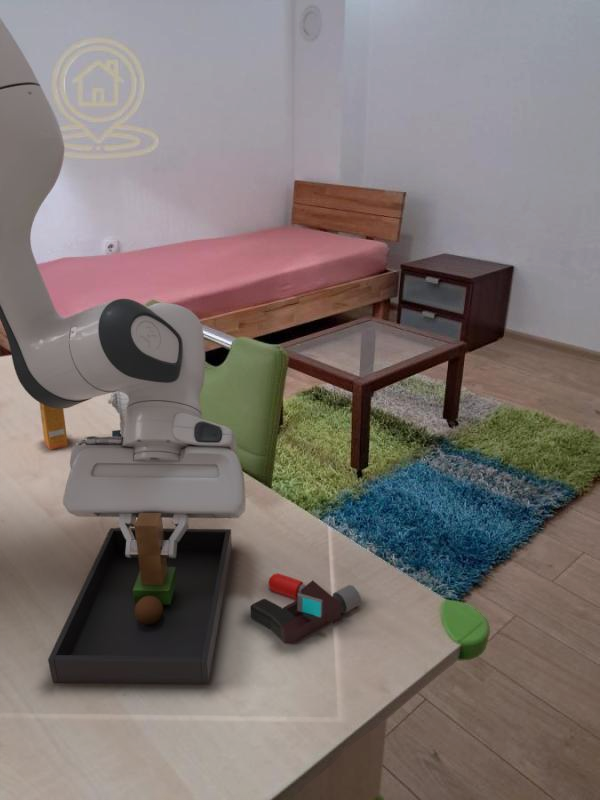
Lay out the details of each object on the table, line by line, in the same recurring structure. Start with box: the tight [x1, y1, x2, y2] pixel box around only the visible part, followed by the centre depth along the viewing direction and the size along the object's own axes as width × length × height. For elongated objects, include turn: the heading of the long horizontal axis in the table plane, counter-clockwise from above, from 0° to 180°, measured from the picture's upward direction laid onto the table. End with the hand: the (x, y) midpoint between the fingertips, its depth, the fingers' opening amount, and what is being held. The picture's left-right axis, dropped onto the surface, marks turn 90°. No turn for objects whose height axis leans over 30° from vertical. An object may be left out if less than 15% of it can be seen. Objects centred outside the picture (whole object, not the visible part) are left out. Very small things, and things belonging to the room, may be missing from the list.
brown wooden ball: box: [135, 596, 163, 625], centre depth 68 cm, size 3×3×3 cm
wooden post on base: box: [133, 513, 177, 604], centre depth 70 cm, size 4×4×10 cm
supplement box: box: [38, 402, 69, 451], centre depth 105 cm, size 3×3×10 cm
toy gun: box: [249, 573, 362, 645], centre depth 71 cm, size 10×12×5 cm
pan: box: [47, 527, 233, 686], centre depth 71 cm, size 15×21×4 cm
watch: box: [107, 391, 129, 437], centre depth 103 cm, size 6×8×11 cm
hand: (150, 557), depth 69 cm, fingers closed on wooden post on base, 2 cm apart
